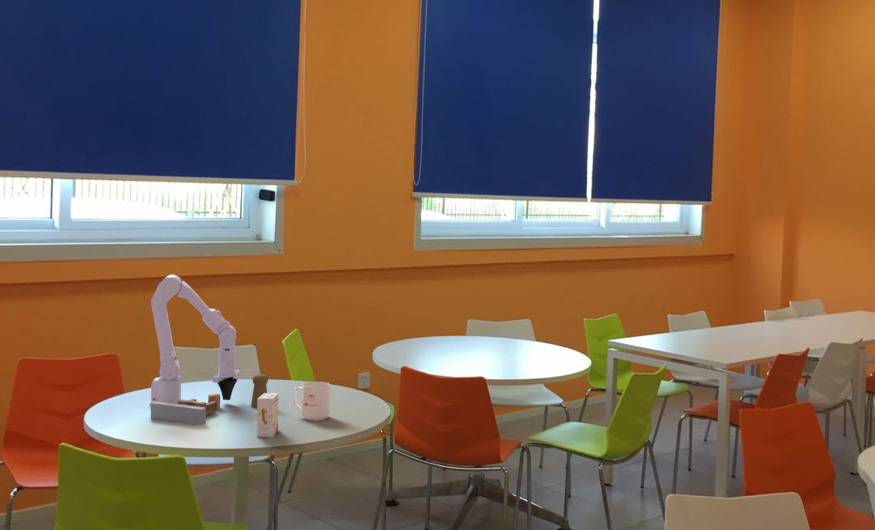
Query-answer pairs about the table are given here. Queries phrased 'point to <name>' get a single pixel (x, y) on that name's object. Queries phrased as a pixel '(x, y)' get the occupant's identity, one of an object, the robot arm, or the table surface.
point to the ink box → (267, 415)
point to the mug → (314, 400)
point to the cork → (258, 388)
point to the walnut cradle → (200, 405)
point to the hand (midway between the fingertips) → (226, 399)
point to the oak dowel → (214, 399)
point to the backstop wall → (178, 413)
